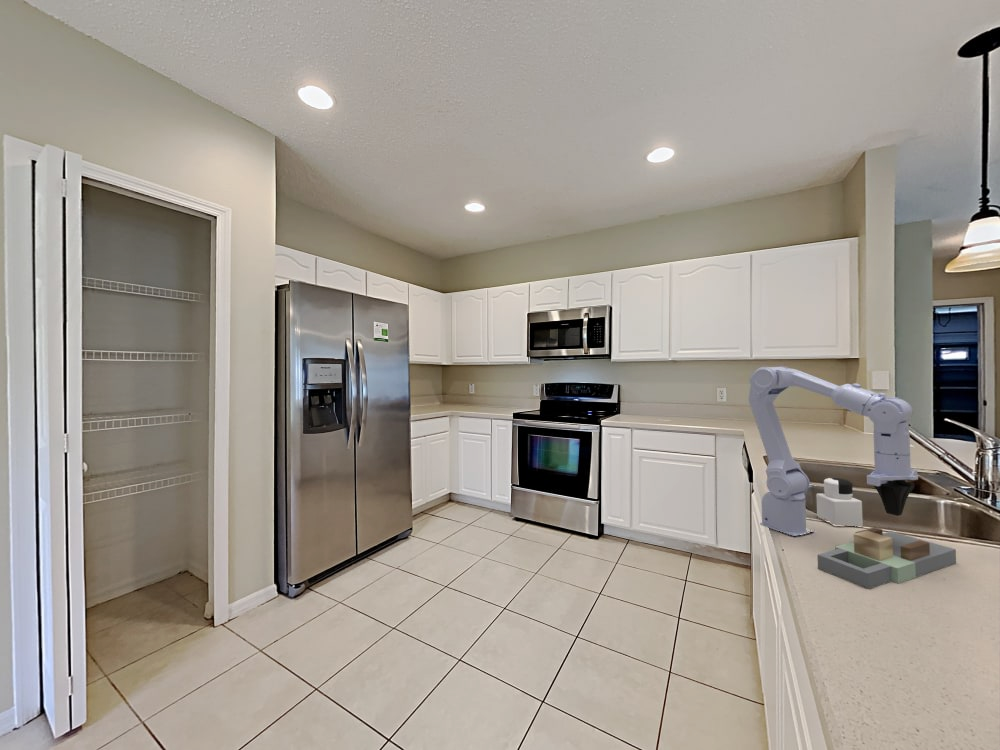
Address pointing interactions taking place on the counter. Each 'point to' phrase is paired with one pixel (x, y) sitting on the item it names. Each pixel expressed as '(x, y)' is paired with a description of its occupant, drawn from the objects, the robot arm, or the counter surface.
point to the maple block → (873, 545)
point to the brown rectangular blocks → (908, 547)
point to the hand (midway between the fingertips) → (893, 514)
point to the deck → (884, 563)
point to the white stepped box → (839, 503)
